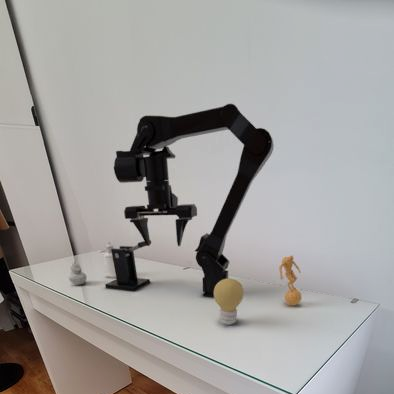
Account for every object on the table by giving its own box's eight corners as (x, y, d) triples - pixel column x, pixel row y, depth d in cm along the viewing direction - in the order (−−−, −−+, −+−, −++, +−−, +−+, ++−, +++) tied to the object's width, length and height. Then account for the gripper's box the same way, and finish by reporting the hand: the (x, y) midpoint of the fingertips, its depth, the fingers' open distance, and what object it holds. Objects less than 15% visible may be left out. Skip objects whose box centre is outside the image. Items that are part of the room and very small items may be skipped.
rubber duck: (75, 287, 93) (69, 262, 89) (67, 284, 97) (60, 260, 93) (91, 283, 96) (85, 259, 92) (82, 280, 100) (76, 257, 96)
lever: (152, 245, 85) (149, 237, 84) (143, 248, 81) (139, 240, 80) (126, 257, 91) (123, 249, 90) (116, 260, 87) (112, 253, 86)
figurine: (289, 311, 69) (296, 260, 63) (269, 305, 73) (273, 257, 66) (307, 302, 73) (315, 254, 67) (287, 297, 77) (292, 251, 71)
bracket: (150, 282, 94) (145, 245, 88) (134, 291, 87) (128, 251, 81) (122, 280, 98) (116, 244, 92) (105, 288, 91) (97, 249, 85)
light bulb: (224, 314, 69) (224, 273, 64) (247, 321, 65) (249, 277, 60) (208, 324, 64) (207, 280, 59) (232, 331, 61) (233, 285, 56)
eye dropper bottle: (114, 279, 99) (107, 243, 93) (105, 276, 103) (98, 241, 97) (124, 276, 102) (118, 241, 96) (116, 274, 106) (109, 239, 99)
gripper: (201, 179, 76) (203, 241, 84) (138, 182, 81) (145, 240, 89) (189, 179, 67) (192, 248, 75) (118, 182, 72) (128, 247, 79)
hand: (163, 245), depth 80 cm, fingers open, 9 cm apart
